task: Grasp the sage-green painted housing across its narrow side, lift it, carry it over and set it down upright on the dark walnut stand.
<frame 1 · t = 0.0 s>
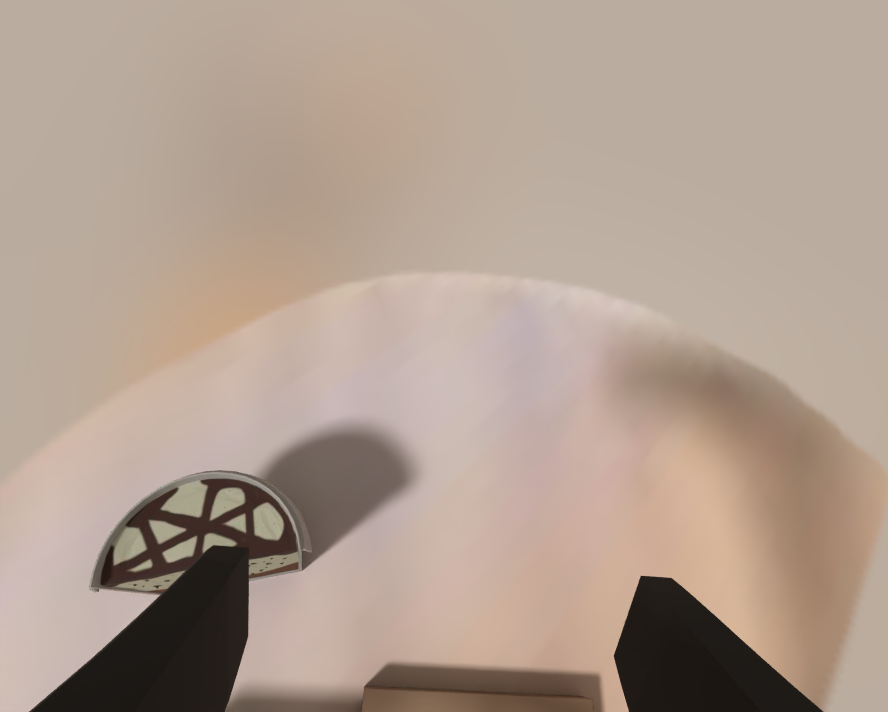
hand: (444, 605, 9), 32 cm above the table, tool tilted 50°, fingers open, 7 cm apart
food container: (238, 541, 39), on the table
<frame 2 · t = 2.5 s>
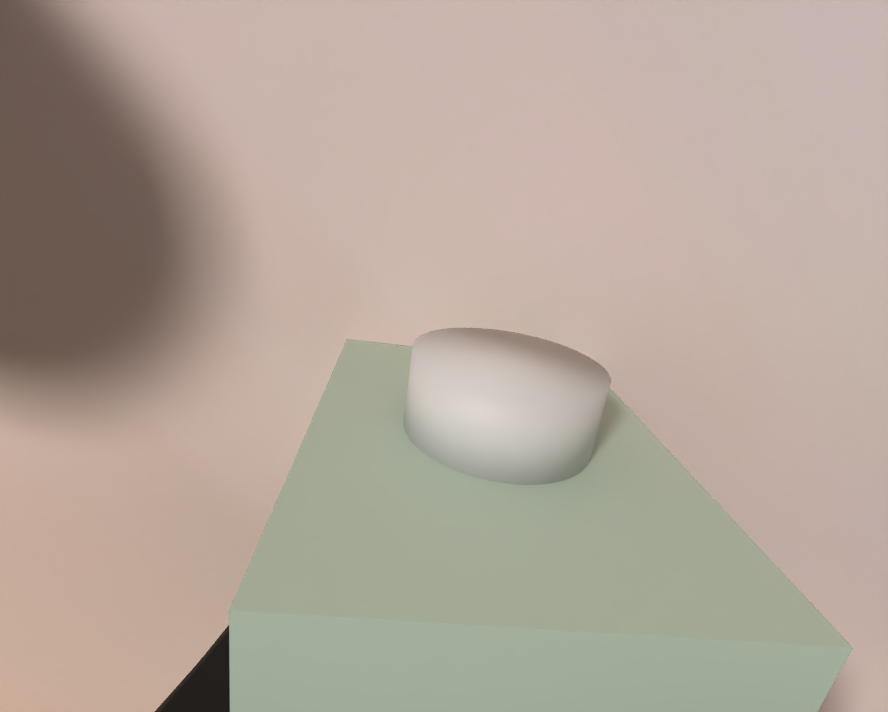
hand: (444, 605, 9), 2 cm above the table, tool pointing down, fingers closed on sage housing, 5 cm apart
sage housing: (439, 548, 11), on the table, touching gripper
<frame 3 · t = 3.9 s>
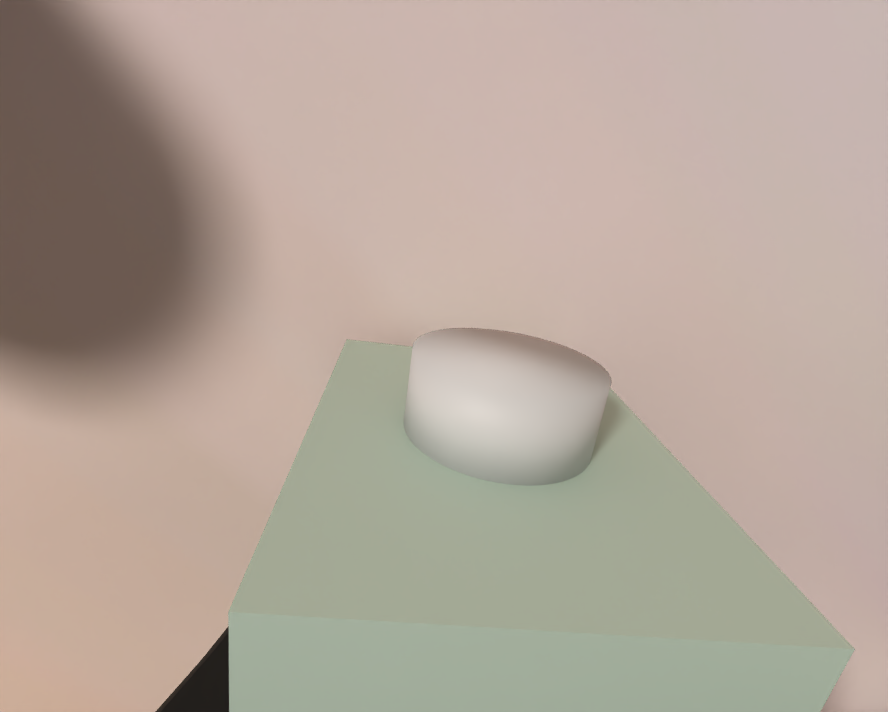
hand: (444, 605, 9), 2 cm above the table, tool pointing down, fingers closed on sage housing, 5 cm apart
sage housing: (439, 549, 11), point 1 cm above the table, touching gripper
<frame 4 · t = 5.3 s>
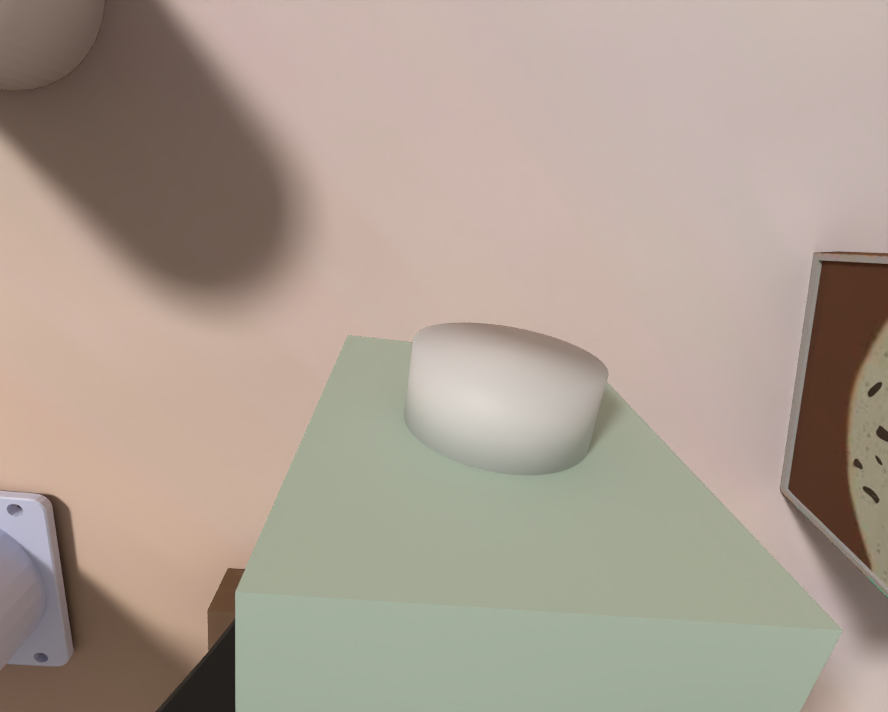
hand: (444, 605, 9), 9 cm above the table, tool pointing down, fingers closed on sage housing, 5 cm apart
food container: (873, 369, 18), on the table
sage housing: (439, 543, 11), point 7 cm above the table, touching gripper
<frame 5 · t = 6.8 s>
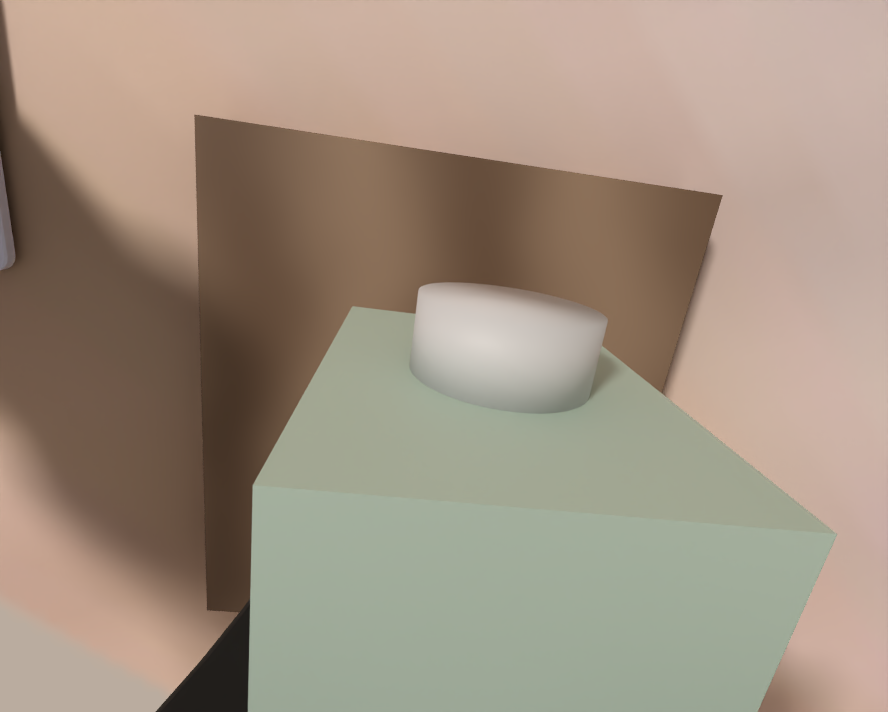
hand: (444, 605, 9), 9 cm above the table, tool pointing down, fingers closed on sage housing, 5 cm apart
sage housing: (441, 518, 11), point 7 cm above the table, touching gripper
walnut stand: (430, 401, 17), on the table
when the fingers open (5 cm above the table, at t = 7.9 s): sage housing drops 1 cm, resting on walnut stand.
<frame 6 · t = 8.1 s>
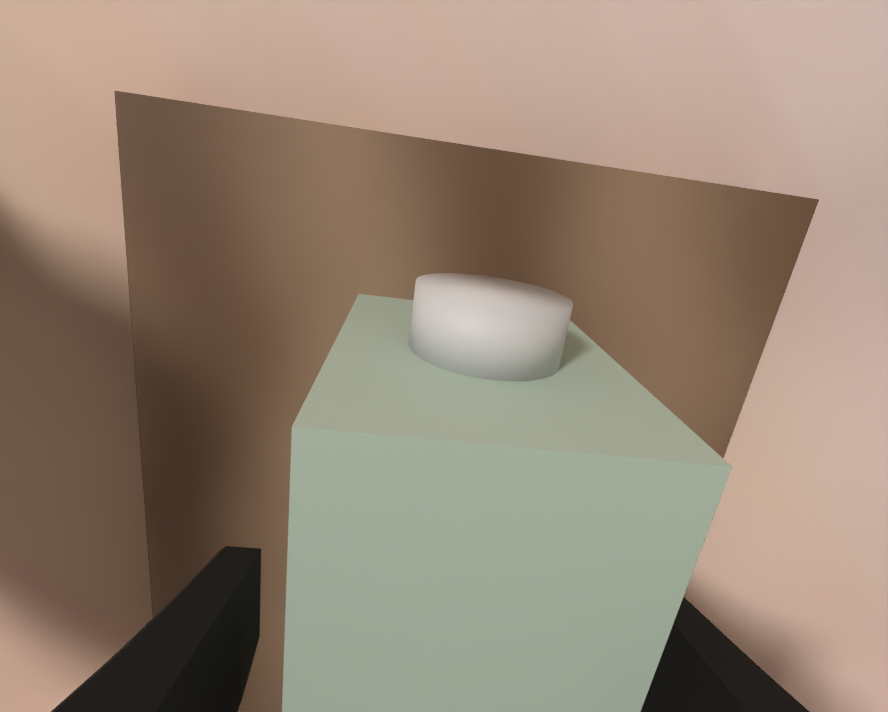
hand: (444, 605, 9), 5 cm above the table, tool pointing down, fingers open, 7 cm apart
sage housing: (438, 483, 12), point 2 cm above the table, touching walnut stand
walnut stand: (434, 452, 14), on the table
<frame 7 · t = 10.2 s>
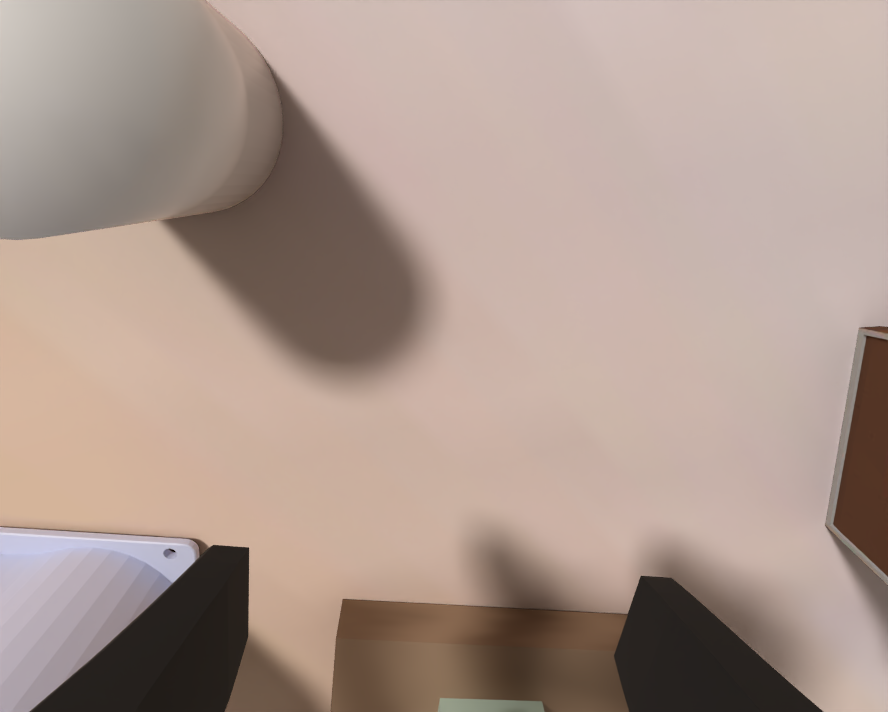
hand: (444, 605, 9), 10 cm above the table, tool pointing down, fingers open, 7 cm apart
white rounded canister: (184, 112, 15), on the table
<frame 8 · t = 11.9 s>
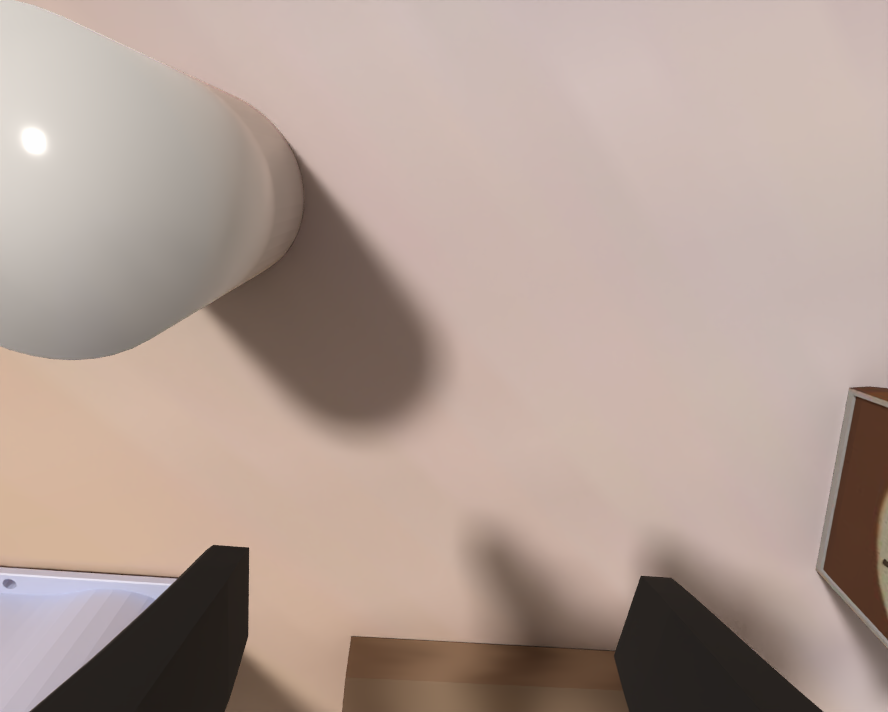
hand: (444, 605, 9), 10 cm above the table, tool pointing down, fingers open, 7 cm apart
white rounded canister: (211, 190, 16), on the table
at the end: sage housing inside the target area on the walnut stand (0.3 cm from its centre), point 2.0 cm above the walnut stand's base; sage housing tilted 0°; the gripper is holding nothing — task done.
